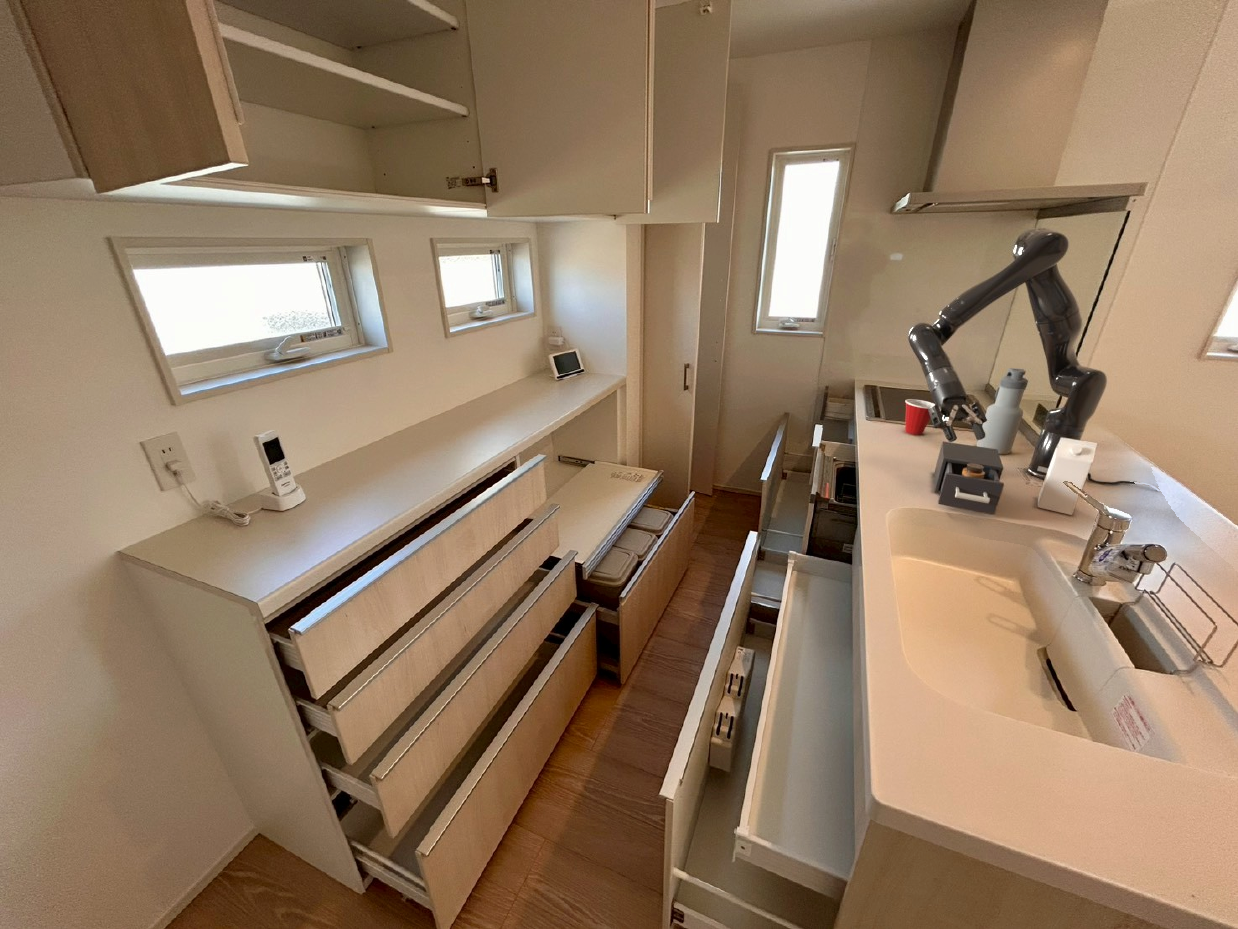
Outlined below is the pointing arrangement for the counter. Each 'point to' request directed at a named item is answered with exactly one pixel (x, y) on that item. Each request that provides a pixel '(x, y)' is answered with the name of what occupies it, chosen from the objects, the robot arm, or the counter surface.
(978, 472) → the pepper mill
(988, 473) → the drawer
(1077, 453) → the milk carton
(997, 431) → the water bottle
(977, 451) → the small drawer unit
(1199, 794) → the counter surface
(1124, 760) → the counter surface
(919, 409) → the plastic cup
